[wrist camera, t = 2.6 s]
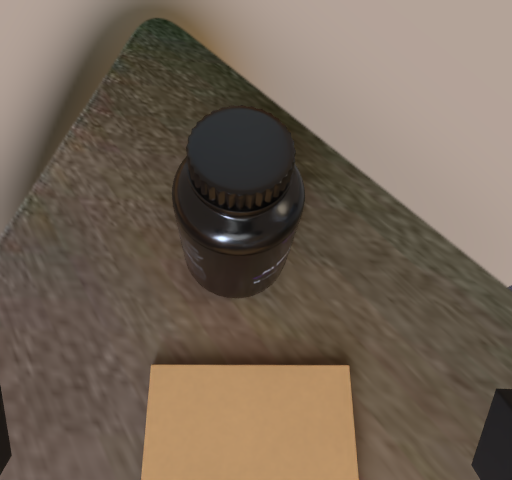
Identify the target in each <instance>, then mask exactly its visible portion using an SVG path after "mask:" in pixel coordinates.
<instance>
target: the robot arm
mask: <svg viewBox="0 0 512 480" xmlns="http://www.w3.org/2000/svg"><path fill="white" fill-rule="evenodd" d="M11 456H12V455H11V448H10V442H9V436H8V430H7V424H6V417H5V411H4V405H3V399H2V393H1V387H0V475H1V473H2V471H3V469H4V468H5V466H6V464H7V463H8V461H9V459H10V457H11ZM472 467H473V468H474V470H475V472H476V473H477V475H478V477H479V478H480V480H512V389H496V391H495V394H494V397H493V400H492V403H491V406H490V410H489V413H488V416H487V419H486V422H485V425H484V428H483V431H482V434H481V437H480V440H479V443H478V446H477V449H476V452H475V455H474V458H473V462H472Z"/></svg>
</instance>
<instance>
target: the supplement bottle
mask: <svg viewBox="0 0 512 480" xmlns="http://www.w3.org/2000/svg"><path fill="white" fill-rule="evenodd" d="M186 151H187V156H186V158H185V159H184V160H183V161H182V163H181V164H180V166H179V168H178V170H177V172H176V175H175V178H174V181H173V187H172V200H173V207H174V212H175V217H176V221H177V225H178V230H179V234H180V239H181V243H182V248H183V252H184V256H185V260H186V263H187V266H188V268H189V270H190V272H191V274H192V276H193V277H194V278H195V280H196V281H197V282H198V283H199V284H200V285H201V286H202V287H204V288H205V289H206V290H208V291H210V292H212V293H214V294H216V295H219V296H222V297H227V298H244V297H249V296H253V295H255V294H258V293H260V292H262V291H263V290H265V289H266V288H268V287H269V286H270V285H271V284H272V283H273V282H274V281H275V280H276V279H277V278H278V276H279V274H280V273H281V271H282V269H283V267H284V264H285V262H286V259H287V256H288V253H289V250H290V247H291V244H292V241H293V239H294V236H295V233H296V230H297V227H298V224H299V221H300V218H301V215H302V212H303V207H304V201H305V190H304V184H303V180H302V177H301V174H300V172H299V170H298V168H297V166H296V165H295V154H296V151H295V148H294V141H293V139H292V138H291V133H290V132H289V131H288V130H287V128H286V126H285V125H284V124H282V123H281V122H280V120H279V119H278V118H276V117H274V116H273V115H272V114H271V113H267V112H265V111H264V110H262V109H256V108H254V107H252V106H251V107H246V106H243V105H241V106H230V107H223V108H221V109H219V110H215V111H212V112H211V114H209V115H206V116H204V118H203V119H202V120H200V121H199V122H197V125H196V127H194V128H193V129H192V132H191V135H190V136H189V137H188V144H187V147H186Z"/></svg>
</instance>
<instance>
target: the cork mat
mask: <svg viewBox="0 0 512 480" xmlns="http://www.w3.org/2000/svg"><path fill="white" fill-rule="evenodd" d="M141 480H359V476H358V464H357V452H356V440H355V428H354V416H353V404H352V392H351V380H350V368H349V365H171V364H152V365H151V371H150V383H149V394H148V406H147V417H146V429H145V441H144V452H143V464H142V476H141Z"/></svg>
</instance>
